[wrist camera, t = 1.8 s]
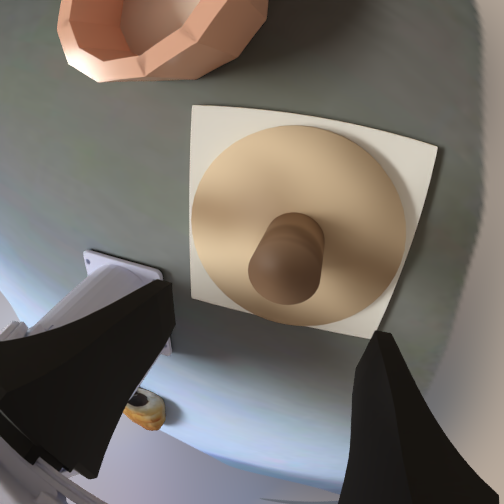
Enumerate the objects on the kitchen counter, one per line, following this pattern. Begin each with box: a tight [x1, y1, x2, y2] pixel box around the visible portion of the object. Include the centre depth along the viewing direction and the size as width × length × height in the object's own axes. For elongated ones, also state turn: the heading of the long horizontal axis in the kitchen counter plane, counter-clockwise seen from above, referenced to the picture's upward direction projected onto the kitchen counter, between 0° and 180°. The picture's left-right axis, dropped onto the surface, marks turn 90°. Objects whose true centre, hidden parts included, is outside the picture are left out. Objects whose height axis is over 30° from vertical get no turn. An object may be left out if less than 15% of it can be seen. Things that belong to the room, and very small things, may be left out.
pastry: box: [123, 387, 166, 431], centre depth 33 cm, size 9×7×4 cm
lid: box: [191, 125, 406, 326], centre depth 15 cm, size 12×12×4 cm
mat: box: [189, 105, 438, 339], centre depth 17 cm, size 13×13×1 cm
